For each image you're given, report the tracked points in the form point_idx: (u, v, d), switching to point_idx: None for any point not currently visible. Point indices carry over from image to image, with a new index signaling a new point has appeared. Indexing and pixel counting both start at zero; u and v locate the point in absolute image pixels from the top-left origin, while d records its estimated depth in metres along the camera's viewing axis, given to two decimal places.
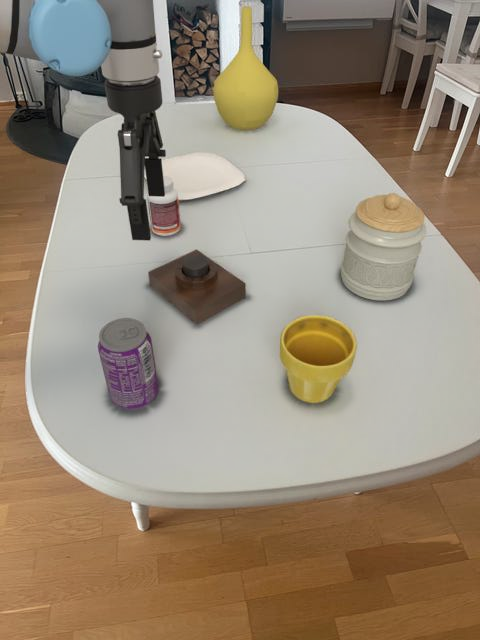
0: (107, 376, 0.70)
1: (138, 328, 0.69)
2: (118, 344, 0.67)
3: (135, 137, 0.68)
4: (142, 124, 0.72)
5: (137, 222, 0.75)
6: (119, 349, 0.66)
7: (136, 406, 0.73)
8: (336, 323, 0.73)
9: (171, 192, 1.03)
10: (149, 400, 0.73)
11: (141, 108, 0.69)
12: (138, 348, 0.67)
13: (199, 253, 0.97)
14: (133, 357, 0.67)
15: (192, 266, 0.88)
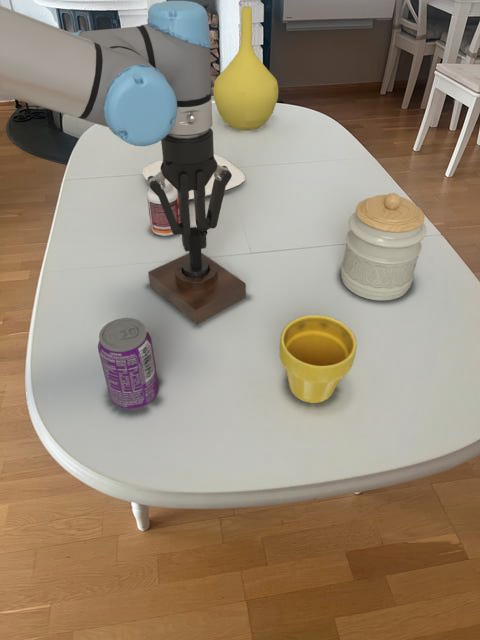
0: (107, 376, 0.70)
1: (138, 328, 0.69)
2: (118, 344, 0.67)
3: (151, 189, 0.77)
4: (177, 170, 0.76)
5: (184, 247, 0.87)
6: (119, 349, 0.66)
7: (136, 406, 0.73)
8: (336, 323, 0.73)
9: (171, 192, 1.03)
10: (149, 400, 0.73)
11: (167, 156, 0.74)
12: (138, 348, 0.67)
13: None
14: (133, 357, 0.67)
15: (192, 270, 0.89)
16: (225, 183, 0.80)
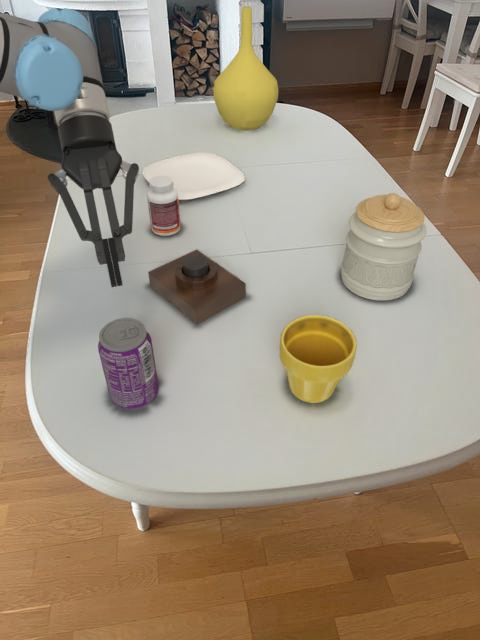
0: (107, 376, 0.70)
1: (138, 328, 0.69)
2: (118, 344, 0.67)
3: (49, 181, 0.72)
4: (76, 161, 0.73)
5: (98, 261, 0.73)
6: (119, 349, 0.66)
7: (136, 406, 0.73)
8: (336, 323, 0.73)
9: (171, 192, 1.03)
10: (149, 400, 0.73)
11: (62, 142, 0.72)
12: (138, 348, 0.67)
13: (199, 253, 0.97)
14: (133, 357, 0.67)
15: (192, 266, 0.88)
16: (132, 175, 0.74)
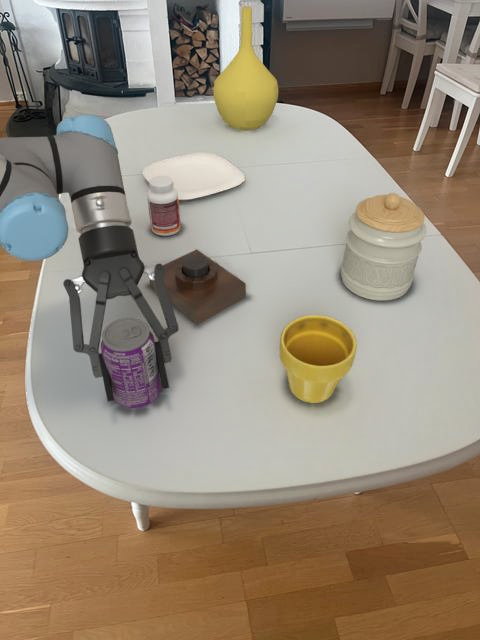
0: (110, 376, 0.70)
1: (141, 327, 0.69)
2: (121, 343, 0.67)
3: (64, 286, 0.69)
4: (98, 271, 0.70)
5: (94, 375, 0.70)
6: (122, 349, 0.66)
7: (140, 405, 0.73)
8: (336, 323, 0.73)
9: (171, 192, 1.03)
10: (152, 399, 0.74)
11: (83, 253, 0.69)
12: (141, 347, 0.67)
13: (199, 253, 0.97)
14: (137, 357, 0.67)
15: (192, 266, 0.88)
16: (160, 277, 0.72)
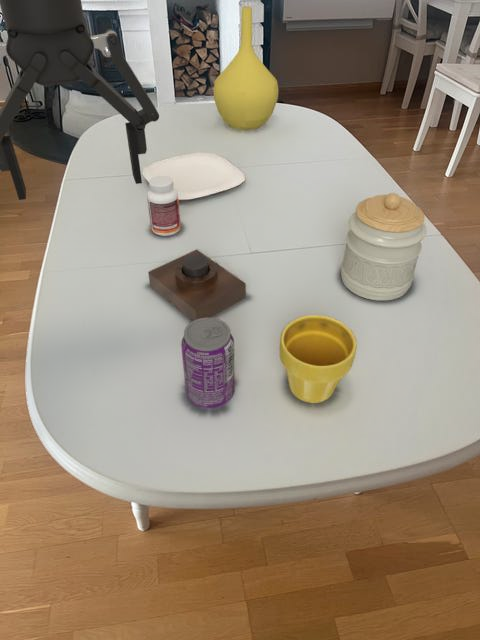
0: (189, 376, 0.70)
1: (221, 327, 0.69)
2: (204, 343, 0.67)
3: None
4: (29, 49, 0.51)
5: None
6: (207, 348, 0.66)
7: (216, 405, 0.73)
8: (336, 323, 0.73)
9: (171, 192, 1.03)
10: (228, 399, 0.74)
11: (6, 20, 0.49)
12: (224, 347, 0.67)
13: (199, 253, 0.97)
14: (220, 356, 0.67)
15: (192, 266, 0.88)
16: (119, 54, 0.54)
